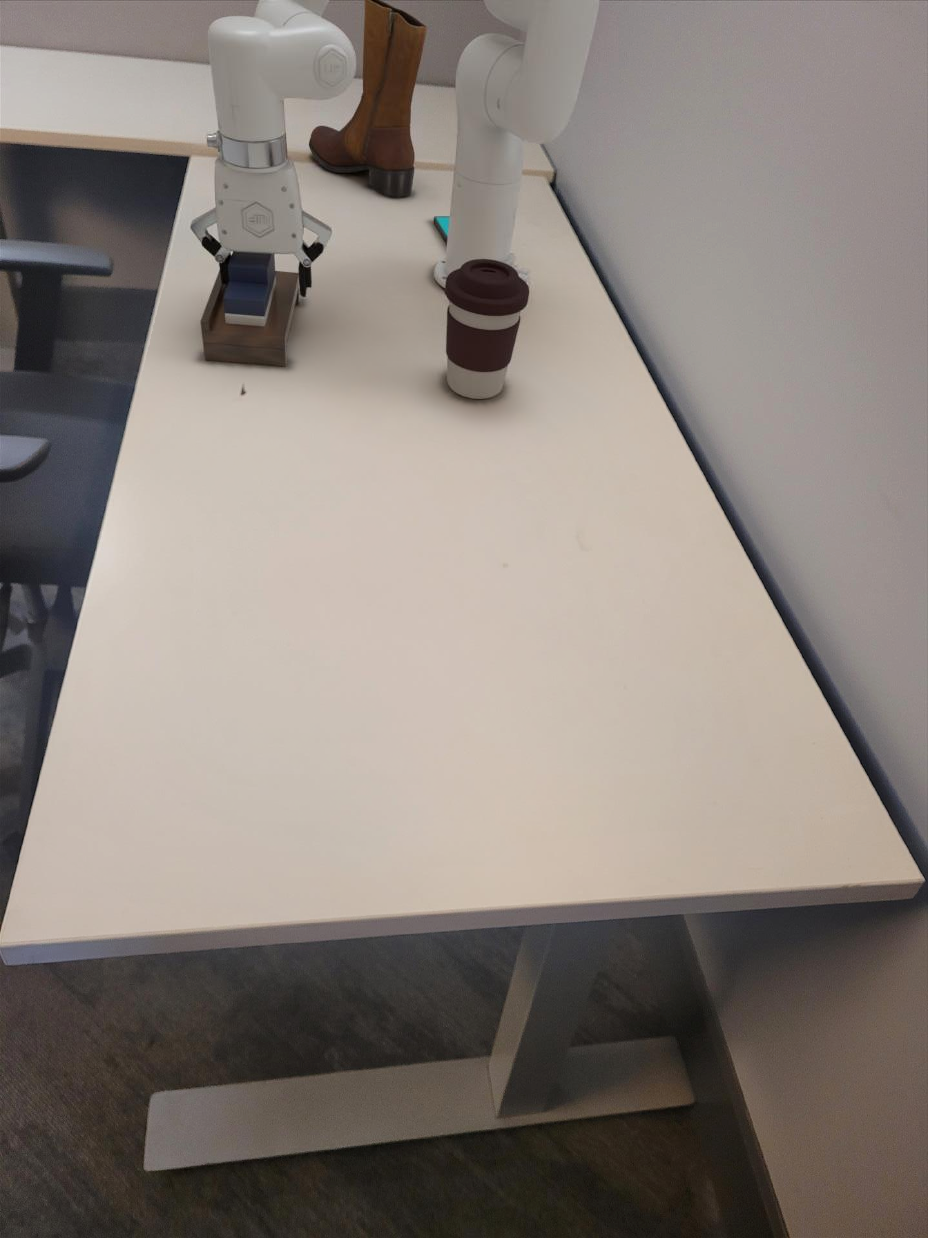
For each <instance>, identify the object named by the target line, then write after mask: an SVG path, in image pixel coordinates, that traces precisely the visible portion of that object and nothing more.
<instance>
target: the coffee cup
mask: <svg viewBox="0 0 928 1238" xmlns="http://www.w3.org/2000/svg"><path fill="white" fill-rule="evenodd" d="M444 294H445V297H446V298H447V300H448V302H449V303H448V306H447V309H446V334H445V335H446V336H445V337H446V338H445V339H446V340H445V354H446V356H447V362H446V382H447V385H448V387H449V388H450V389H451V391H453V393H455V394H457V395H459V396H461V397H464V398H467V399H472V400H473V399H475V400H485V399H490V398H493V397H495V396H497V395H498V394H500V393H501V392H502V390H503V388H504V384H505V379H506V375H507V371H508V366H509V364H510V363H511V361H512V358H513V353H514V348H515V344H516V341H517V336H518V332H519V327H520V324H521V311H524V309H525V308H527V305H528V303H529V297H530V286H529V287H528V285H527V283H526V282H525V281H524V280H523V279H521V278H520V277H519V275H518V273H517V271H516V270H515V269H514V268H513V267H511V266H510V265H508V264H506V263H503V262H500V261H496V260H491V259H475V260H470V261H468V262H466V263H464V264H463V265H462V266H461V268H460V269H456V270H454V271H452V272H451V273H450V274H449V275H448V276H447V278H446V284H445V288H444Z"/></svg>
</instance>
